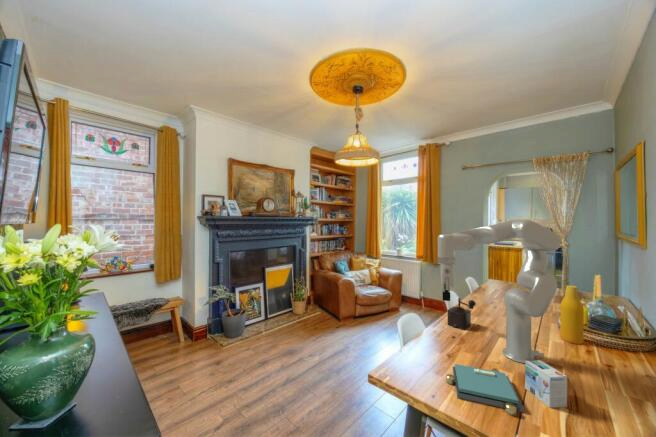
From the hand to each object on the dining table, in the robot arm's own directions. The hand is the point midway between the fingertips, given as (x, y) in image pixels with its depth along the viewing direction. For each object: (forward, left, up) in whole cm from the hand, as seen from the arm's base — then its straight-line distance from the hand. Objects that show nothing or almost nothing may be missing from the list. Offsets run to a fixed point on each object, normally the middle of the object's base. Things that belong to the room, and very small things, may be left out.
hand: (446, 300), depth 122 cm
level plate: (-12, +19, -25) cm, 33 cm away
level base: (-10, +19, -27) cm, 35 cm away
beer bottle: (-64, -44, -27) cm, 82 cm away
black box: (-12, -43, -27) cm, 52 cm away
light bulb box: (-32, +16, -27) cm, 45 cm away
